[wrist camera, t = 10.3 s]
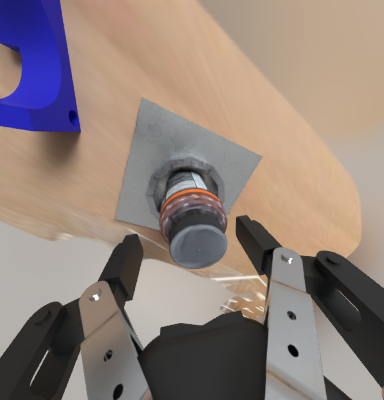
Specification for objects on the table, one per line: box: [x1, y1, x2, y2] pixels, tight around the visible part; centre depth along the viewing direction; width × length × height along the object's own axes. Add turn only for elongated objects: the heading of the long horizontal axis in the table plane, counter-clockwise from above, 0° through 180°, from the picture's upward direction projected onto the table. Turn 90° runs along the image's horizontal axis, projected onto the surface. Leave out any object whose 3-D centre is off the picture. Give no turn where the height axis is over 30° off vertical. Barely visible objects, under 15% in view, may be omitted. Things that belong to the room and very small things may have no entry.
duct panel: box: [115, 97, 262, 230], centre depth 18 cm, size 16×16×4 cm
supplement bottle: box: [159, 170, 227, 269], centre depth 14 cm, size 6×6×11 cm
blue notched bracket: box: [0, 0, 81, 132], centre depth 10 cm, size 12×4×6 cm, turn 171°
